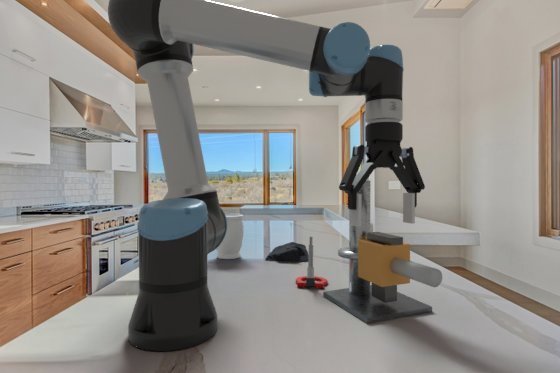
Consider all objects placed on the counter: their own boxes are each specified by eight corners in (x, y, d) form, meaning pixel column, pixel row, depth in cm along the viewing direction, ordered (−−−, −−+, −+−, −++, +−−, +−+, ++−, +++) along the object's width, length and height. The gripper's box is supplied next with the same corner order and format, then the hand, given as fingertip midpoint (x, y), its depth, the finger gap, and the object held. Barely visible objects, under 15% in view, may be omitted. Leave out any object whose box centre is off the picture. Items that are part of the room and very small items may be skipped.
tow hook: (297, 279, 96) (293, 288, 87) (297, 232, 96) (294, 236, 87) (327, 281, 95) (327, 289, 86) (328, 233, 95) (327, 237, 86)
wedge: (390, 305, 69) (390, 238, 68) (366, 293, 76) (366, 232, 76) (402, 303, 70) (402, 237, 70) (377, 291, 77) (377, 231, 77)
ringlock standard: (367, 323, 65) (367, 180, 64) (319, 293, 83) (319, 180, 82) (432, 311, 71) (432, 180, 70) (374, 285, 88) (374, 180, 88)
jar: (249, 256, 124) (249, 214, 123) (230, 261, 115) (230, 216, 115) (226, 252, 129) (226, 212, 129) (207, 258, 121) (207, 215, 120)
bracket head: (419, 303, 59) (419, 256, 58) (357, 276, 75) (358, 239, 75) (450, 298, 61) (450, 253, 61) (384, 273, 78) (384, 237, 78)
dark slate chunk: (311, 250, 135) (311, 238, 135) (309, 264, 114) (309, 249, 113) (272, 250, 137) (272, 238, 137) (263, 263, 115) (263, 248, 115)
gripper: (342, 116, 64) (341, 229, 65) (442, 124, 73) (442, 223, 74) (322, 122, 71) (322, 224, 72) (416, 129, 80) (416, 219, 81)
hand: (383, 224), depth 73 cm, fingers open, 13 cm apart
